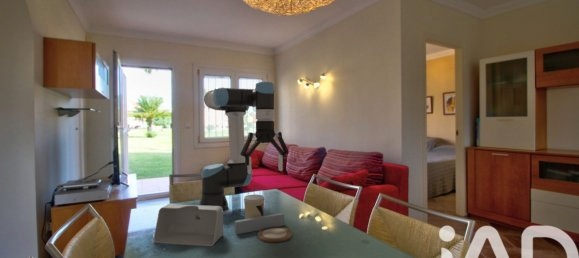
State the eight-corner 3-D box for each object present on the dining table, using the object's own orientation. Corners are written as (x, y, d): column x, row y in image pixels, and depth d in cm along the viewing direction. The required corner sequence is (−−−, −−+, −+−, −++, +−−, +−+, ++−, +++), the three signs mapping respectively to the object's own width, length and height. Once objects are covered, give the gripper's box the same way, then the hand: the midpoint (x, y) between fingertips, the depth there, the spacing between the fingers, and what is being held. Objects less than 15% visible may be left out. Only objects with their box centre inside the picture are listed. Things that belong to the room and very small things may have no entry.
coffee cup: (261, 227, 121) (260, 200, 121) (241, 225, 123) (240, 199, 123) (267, 219, 130) (266, 194, 130) (248, 218, 132) (247, 193, 132)
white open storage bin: (229, 230, 119) (229, 201, 119) (213, 246, 103) (213, 213, 103) (176, 227, 123) (175, 199, 123) (153, 242, 107) (152, 210, 107)
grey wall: (234, 232, 116) (234, 220, 116) (282, 223, 125) (282, 212, 125) (236, 234, 114) (235, 222, 114) (284, 225, 123) (284, 214, 123)
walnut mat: (252, 232, 116) (252, 229, 116) (283, 226, 122) (283, 224, 122) (264, 245, 103) (264, 243, 103) (297, 238, 110) (297, 236, 109)
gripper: (237, 120, 104) (238, 176, 104) (296, 120, 114) (296, 170, 115) (232, 120, 110) (233, 172, 111) (288, 120, 121) (288, 167, 122)
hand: (265, 172), depth 113 cm, fingers open, 13 cm apart
